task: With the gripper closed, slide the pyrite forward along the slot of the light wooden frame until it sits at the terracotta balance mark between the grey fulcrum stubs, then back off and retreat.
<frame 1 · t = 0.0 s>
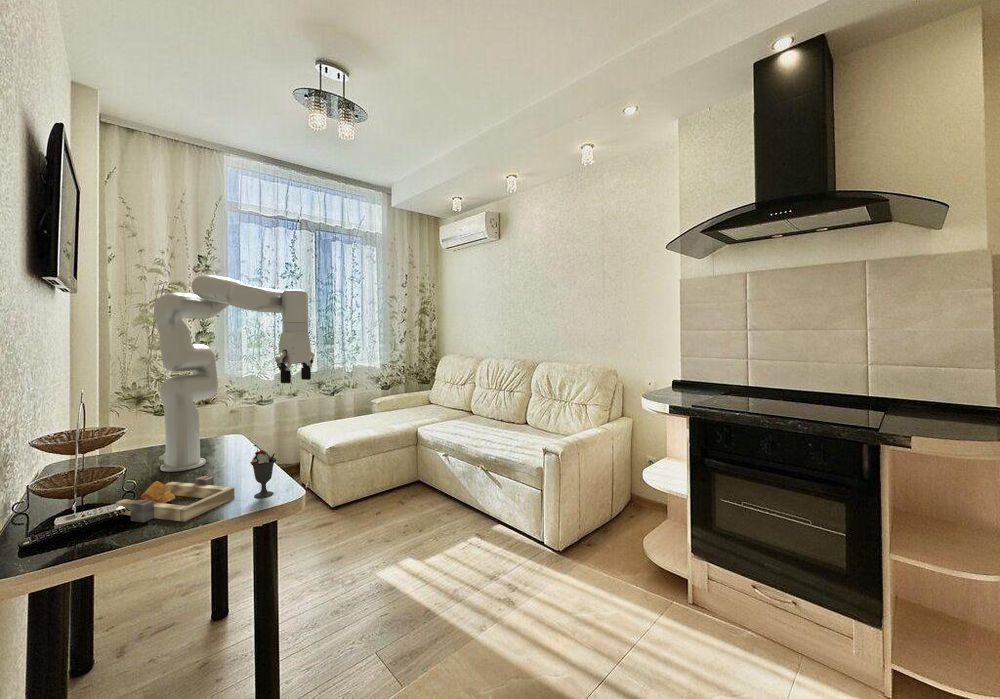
hand: (296, 381, 135), 31 cm above the table, fingers open, 9 cm apart
sundae: (263, 495, 121), on the table
light wooden frame: (175, 505, 113), on the table
pyrite: (157, 504, 115), on the table
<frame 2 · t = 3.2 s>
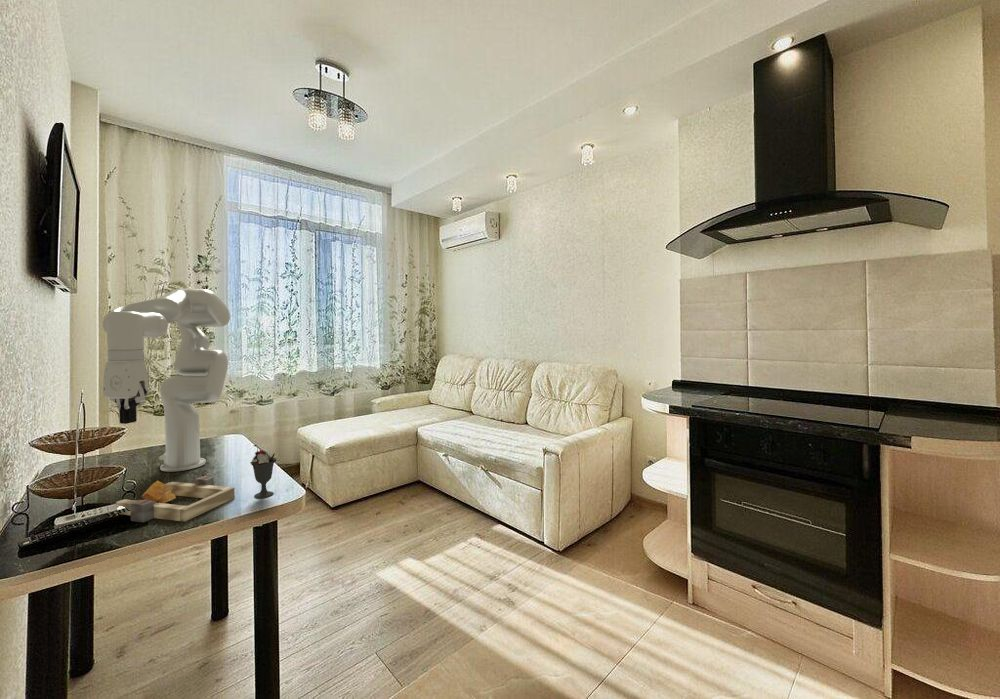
hand: (128, 422, 115), 22 cm above the table, fingers closed
nothing on the table moved.
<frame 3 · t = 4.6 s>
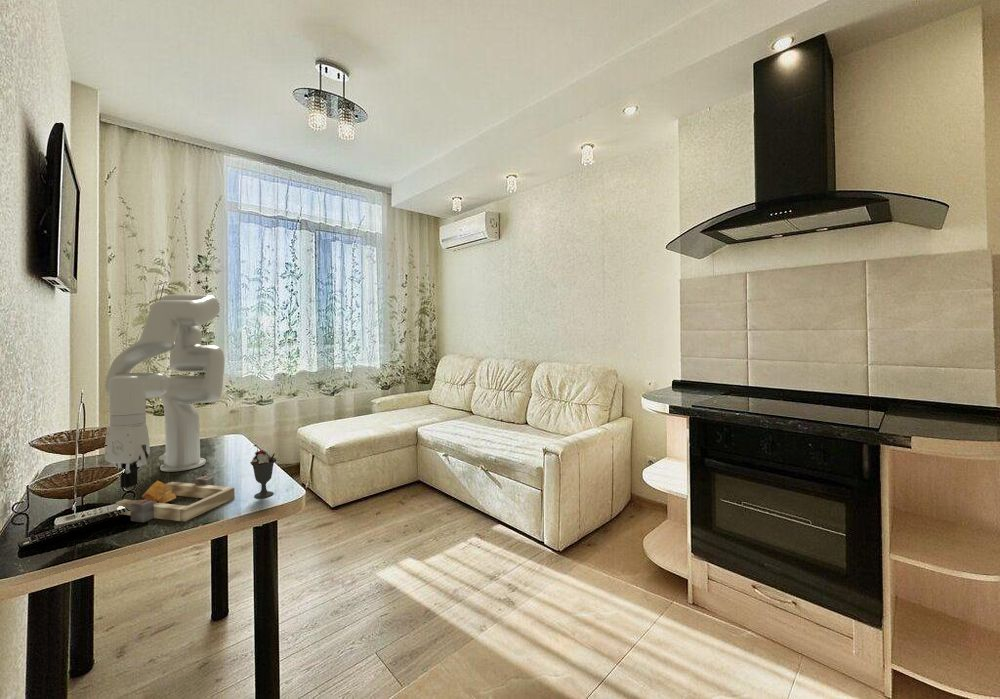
hand: (129, 486, 115), 4 cm above the table, fingers closed
nothing on the table moved.
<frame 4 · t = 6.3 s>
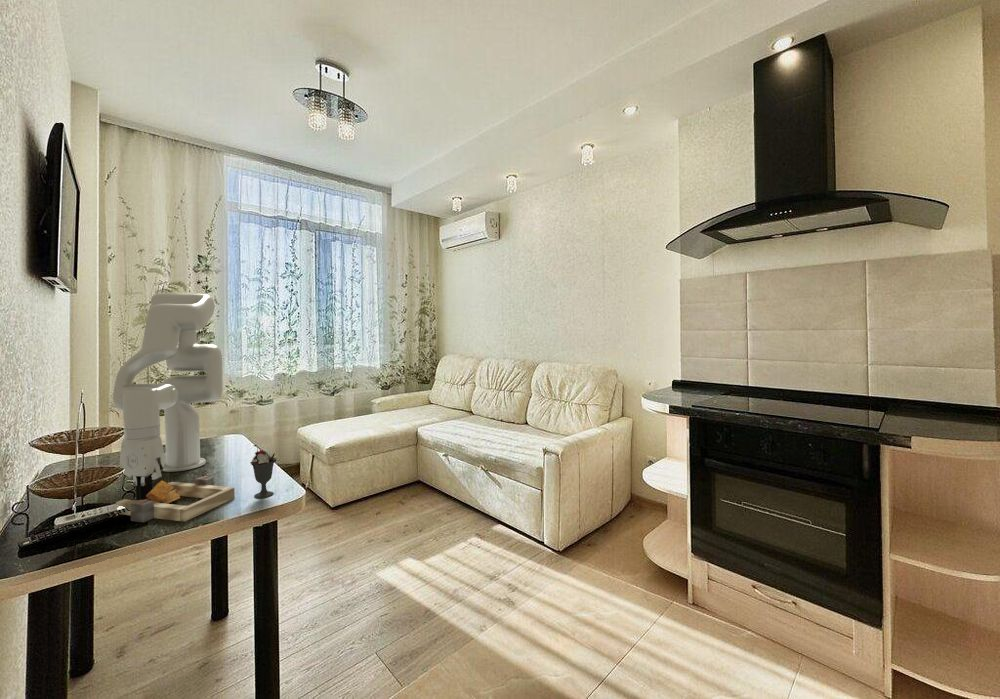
hand: (144, 498, 115), 1 cm above the table, fingers closed
pyrite: (162, 503, 115), on the table, touching gripper
everything else where it was.
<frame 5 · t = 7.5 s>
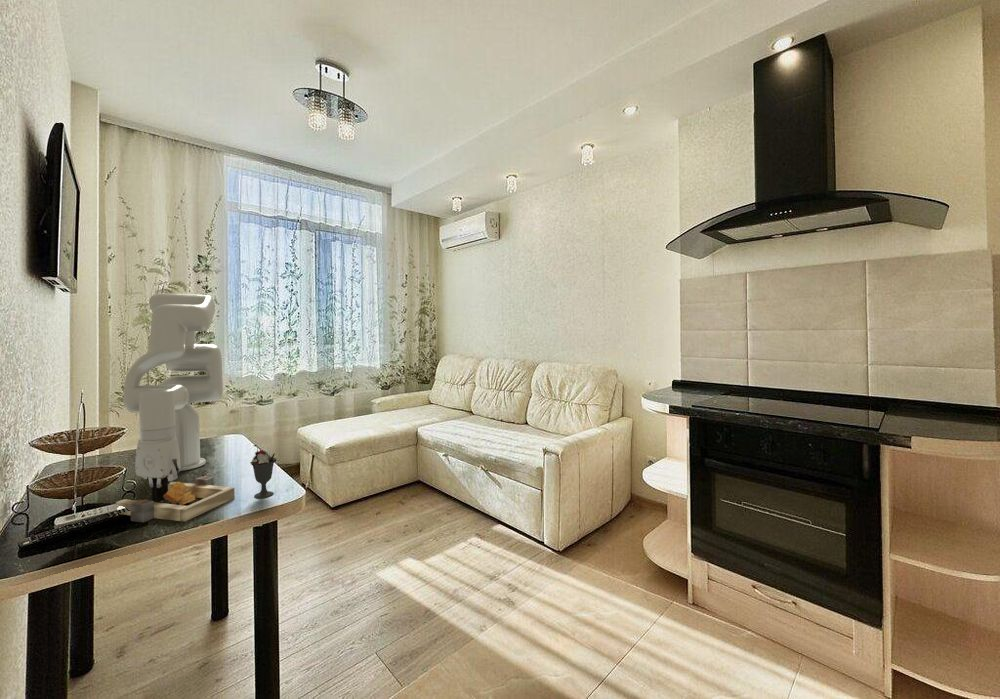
hand: (160, 499, 114), 1 cm above the table, fingers closed
pyrite: (179, 504, 114), on the table, touching gripper
everything else where it was.
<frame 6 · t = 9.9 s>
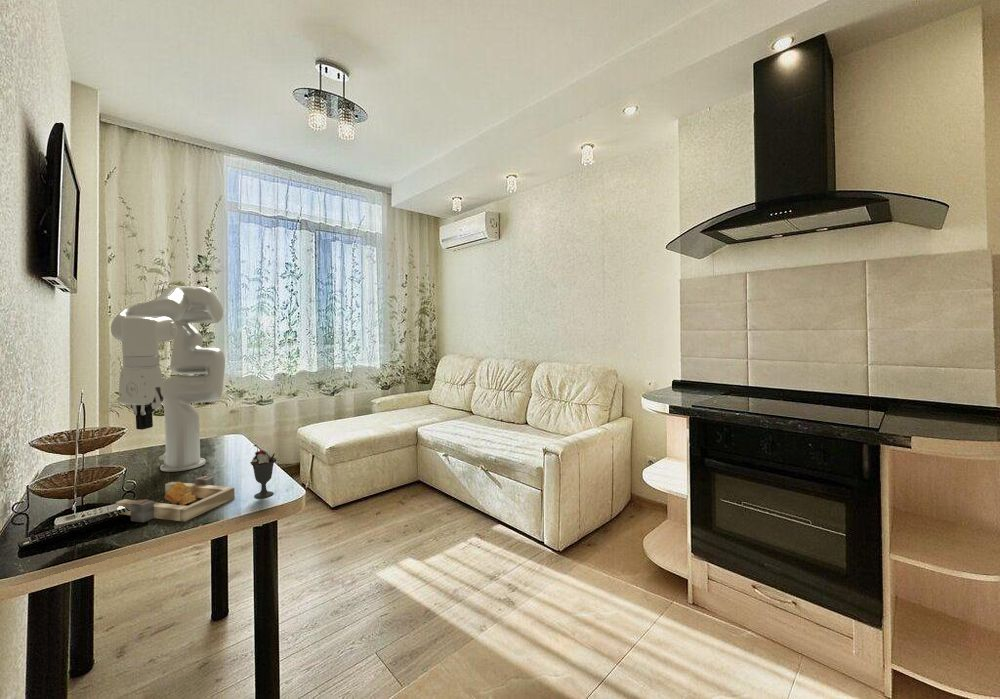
hand: (144, 428, 115), 20 cm above the table, fingers closed
pyrite: (179, 505, 114), on the table
everything else where it was.
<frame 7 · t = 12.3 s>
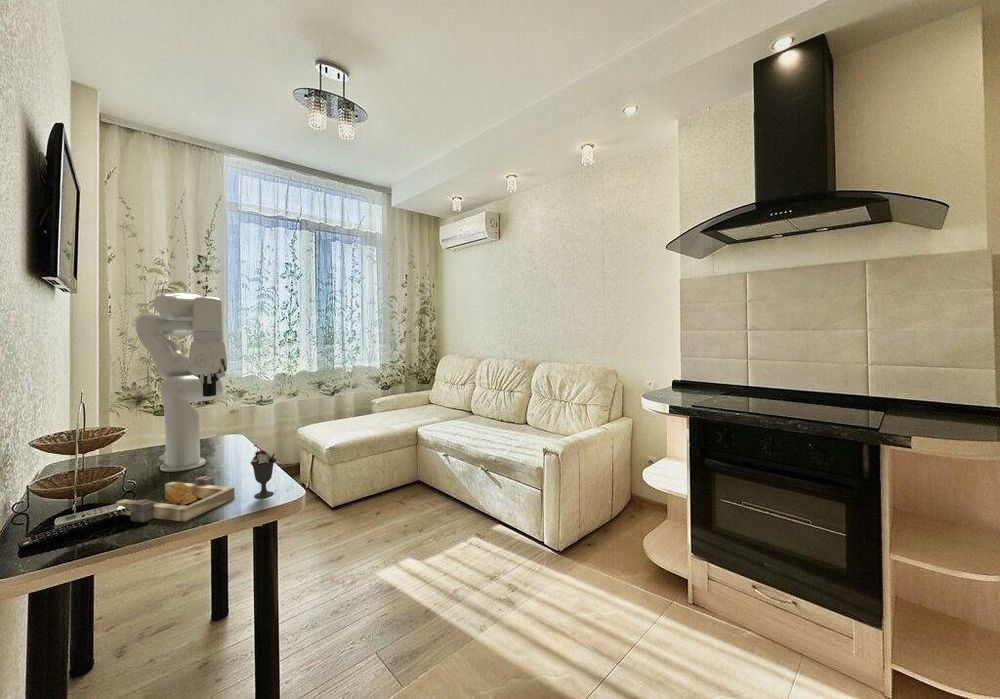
hand: (209, 395, 130), 27 cm above the table, fingers closed
nothing on the table moved.
at the end: pyrite 1.0 cm from the light wooden frame (horizontally); pyrite on the table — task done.
